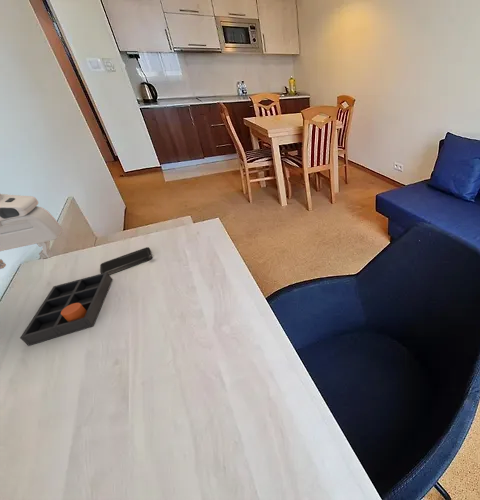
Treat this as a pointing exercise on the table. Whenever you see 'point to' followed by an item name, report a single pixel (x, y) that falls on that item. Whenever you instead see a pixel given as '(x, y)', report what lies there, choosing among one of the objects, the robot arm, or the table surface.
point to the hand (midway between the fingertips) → (25, 262)
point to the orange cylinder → (73, 312)
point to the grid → (49, 314)
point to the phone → (126, 261)
